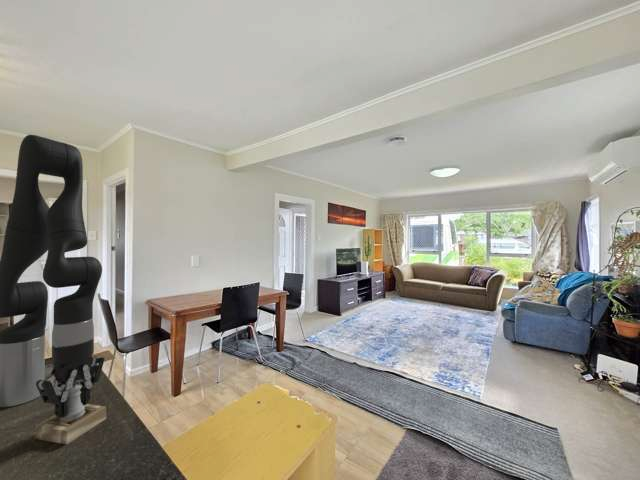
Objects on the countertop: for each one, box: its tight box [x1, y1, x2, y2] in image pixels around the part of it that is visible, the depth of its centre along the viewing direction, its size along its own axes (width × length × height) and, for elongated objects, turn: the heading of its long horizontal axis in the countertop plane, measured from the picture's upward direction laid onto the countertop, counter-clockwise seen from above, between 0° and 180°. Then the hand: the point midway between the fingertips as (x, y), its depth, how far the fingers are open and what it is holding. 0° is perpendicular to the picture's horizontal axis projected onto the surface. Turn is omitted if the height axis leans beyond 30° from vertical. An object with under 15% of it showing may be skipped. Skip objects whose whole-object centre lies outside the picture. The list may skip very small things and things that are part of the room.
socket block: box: [35, 403, 107, 445], centre depth 65 cm, size 9×9×3 cm
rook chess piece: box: [61, 381, 85, 423], centre depth 65 cm, size 4×4×8 cm
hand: (73, 409), depth 65 cm, fingers closed on rook chess piece, 4 cm apart
